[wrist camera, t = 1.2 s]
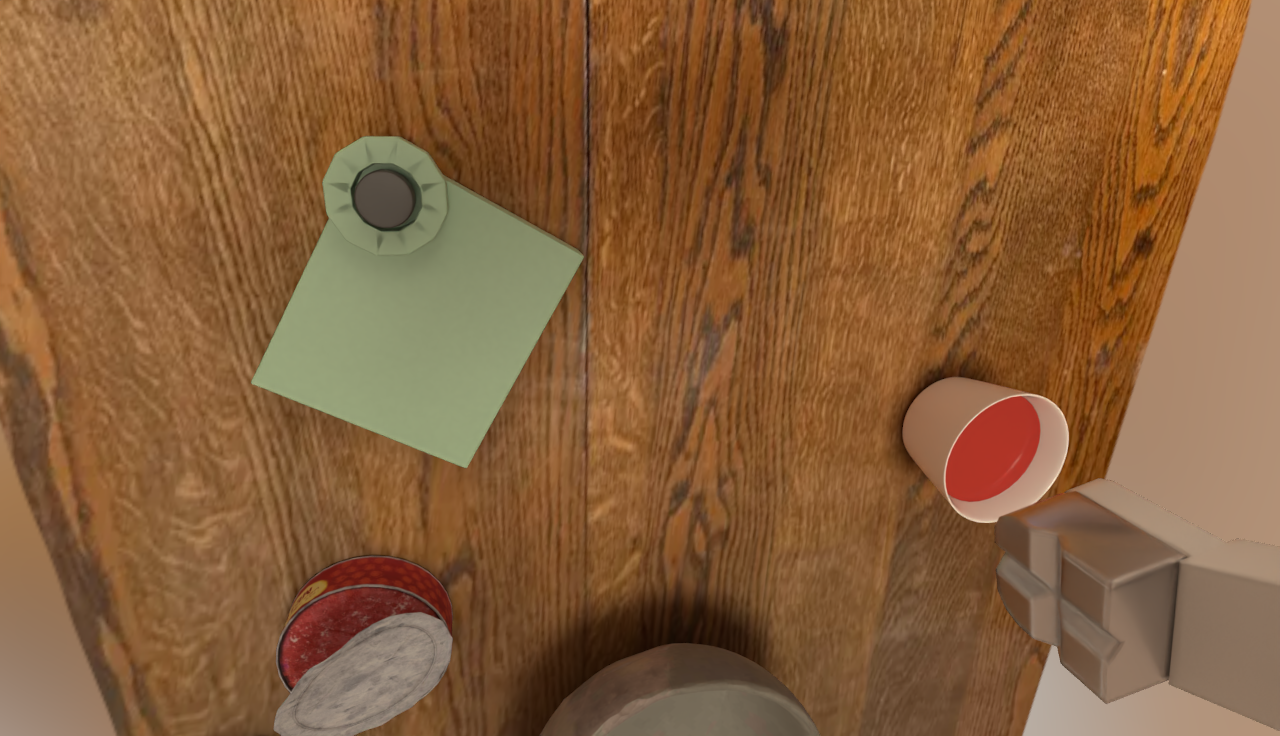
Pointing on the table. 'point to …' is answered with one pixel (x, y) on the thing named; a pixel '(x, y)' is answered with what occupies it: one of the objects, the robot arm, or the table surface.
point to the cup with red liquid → (986, 445)
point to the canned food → (361, 646)
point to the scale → (416, 307)
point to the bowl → (681, 698)
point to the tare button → (385, 198)
